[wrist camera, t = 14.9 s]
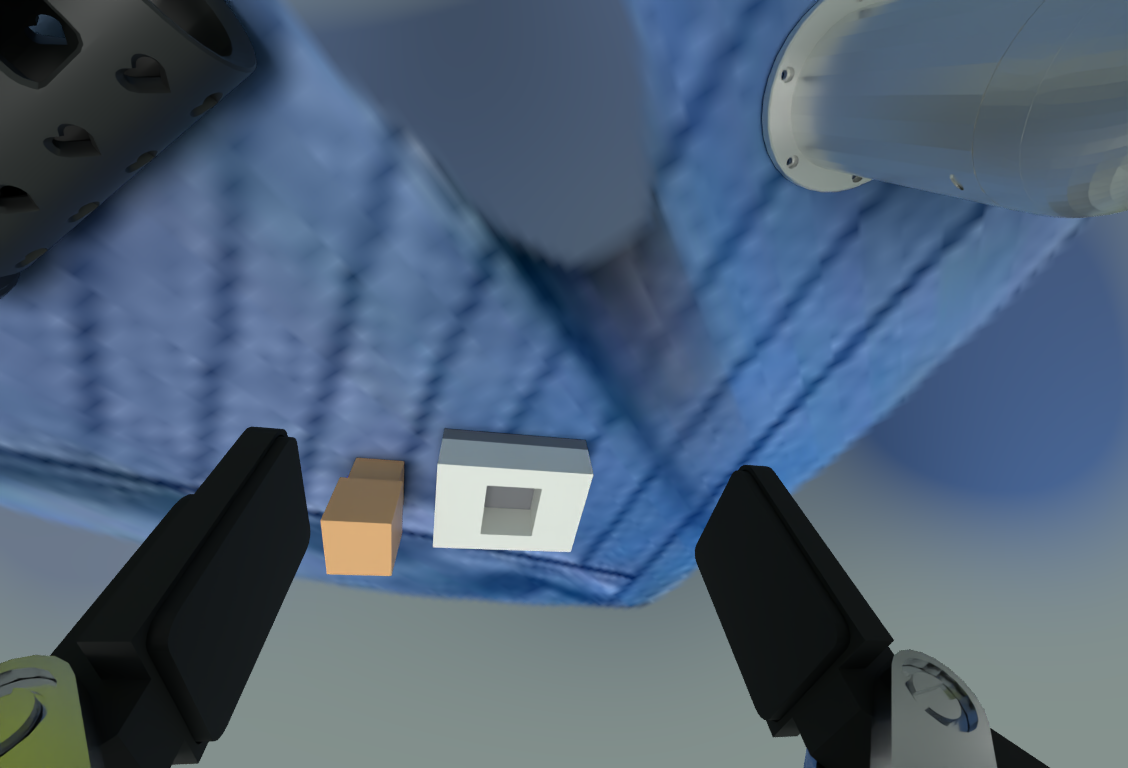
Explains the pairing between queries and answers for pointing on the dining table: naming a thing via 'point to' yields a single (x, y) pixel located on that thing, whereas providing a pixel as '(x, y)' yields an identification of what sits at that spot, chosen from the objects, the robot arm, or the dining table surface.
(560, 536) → the socket block
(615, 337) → the dining table surface
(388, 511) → the plug
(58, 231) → the muzzle brake
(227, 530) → the robot arm
